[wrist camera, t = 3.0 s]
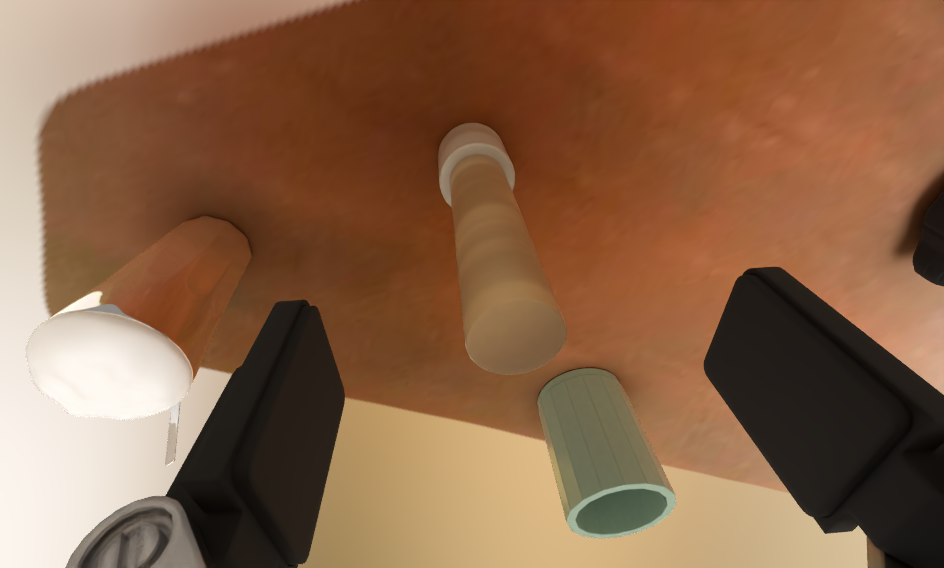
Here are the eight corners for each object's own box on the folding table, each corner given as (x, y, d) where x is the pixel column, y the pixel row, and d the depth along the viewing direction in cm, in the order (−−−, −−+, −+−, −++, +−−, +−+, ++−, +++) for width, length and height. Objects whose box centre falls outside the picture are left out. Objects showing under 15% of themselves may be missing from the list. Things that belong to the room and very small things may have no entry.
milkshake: (237, 307, 22) (127, 488, 14) (142, 235, 19) (-64, 411, 11) (298, 265, 21) (216, 437, 13) (206, 183, 18) (28, 337, 10)
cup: (520, 399, 29) (546, 518, 22) (591, 354, 27) (643, 471, 20) (567, 433, 32) (603, 547, 25) (636, 395, 30) (694, 509, 23)
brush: (423, 155, 18) (416, 342, 9) (473, 106, 17) (529, 256, 8) (469, 200, 20) (506, 404, 10) (517, 157, 19) (612, 338, 9)
